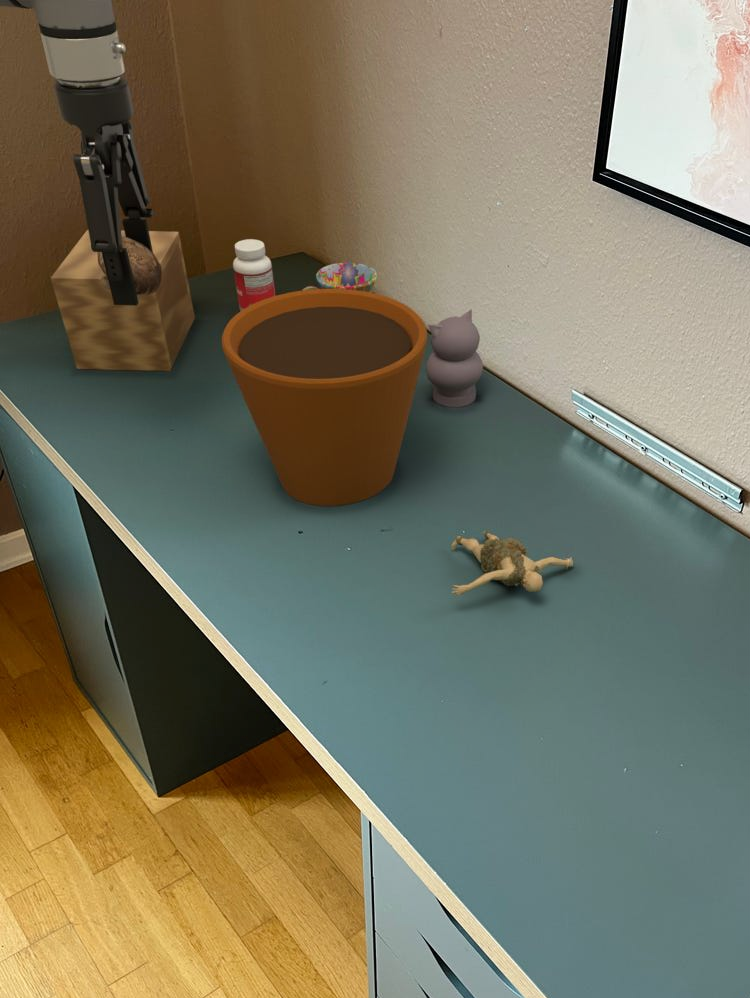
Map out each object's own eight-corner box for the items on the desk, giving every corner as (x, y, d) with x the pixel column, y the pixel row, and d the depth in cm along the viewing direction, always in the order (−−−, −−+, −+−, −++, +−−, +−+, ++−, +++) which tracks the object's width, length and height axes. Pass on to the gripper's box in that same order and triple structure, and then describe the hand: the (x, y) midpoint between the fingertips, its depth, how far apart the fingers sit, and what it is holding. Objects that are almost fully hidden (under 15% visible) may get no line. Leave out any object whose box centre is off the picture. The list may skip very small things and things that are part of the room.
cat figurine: (448, 416, 136) (448, 337, 128) (414, 395, 141) (413, 317, 132) (493, 398, 141) (496, 320, 132) (459, 377, 145) (460, 301, 136)
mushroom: (71, 264, 113) (93, 222, 110) (121, 268, 120) (144, 229, 117) (111, 314, 113) (136, 273, 110) (160, 315, 120) (184, 276, 116)
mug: (372, 323, 157) (369, 259, 150) (386, 349, 151) (383, 283, 143) (300, 332, 154) (293, 267, 147) (311, 358, 148) (304, 292, 140)
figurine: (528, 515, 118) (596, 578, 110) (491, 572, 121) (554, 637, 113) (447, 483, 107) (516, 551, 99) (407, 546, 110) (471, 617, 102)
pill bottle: (242, 303, 161) (231, 237, 154) (278, 303, 162) (270, 237, 154) (238, 319, 157) (227, 252, 149) (275, 319, 157) (267, 252, 150)
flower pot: (371, 410, 137) (363, 273, 123) (463, 490, 123) (466, 346, 109) (216, 459, 127) (188, 316, 113) (298, 553, 113) (278, 402, 99)
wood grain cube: (76, 369, 143) (50, 277, 134) (109, 316, 157) (87, 229, 147) (170, 371, 144) (150, 279, 134) (195, 318, 157) (178, 231, 147)
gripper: (96, 107, 93) (144, 328, 109) (150, 55, 108) (186, 255, 124) (18, 104, 93) (78, 325, 109) (84, 52, 108) (128, 253, 124)
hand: (136, 288), depth 116 cm, fingers closed on mushroom, 8 cm apart
